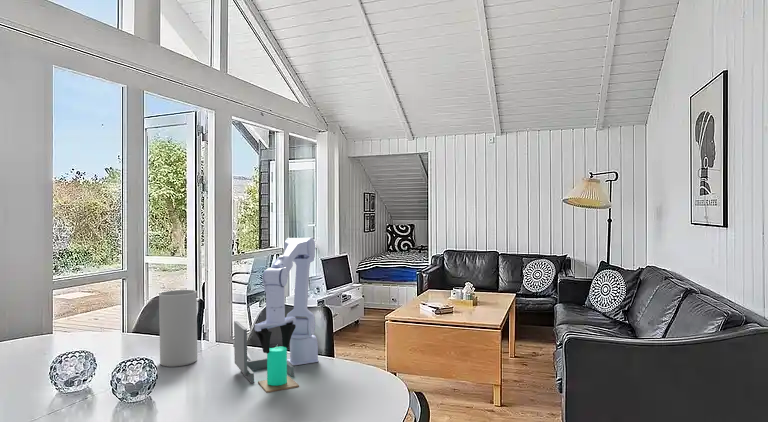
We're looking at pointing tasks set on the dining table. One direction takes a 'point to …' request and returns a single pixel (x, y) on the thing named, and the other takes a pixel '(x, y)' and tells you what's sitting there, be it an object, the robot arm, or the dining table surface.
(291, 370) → the grey bracket
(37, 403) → the dining table surface
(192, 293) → the cylinder vase
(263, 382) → the tan pad
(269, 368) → the candle
